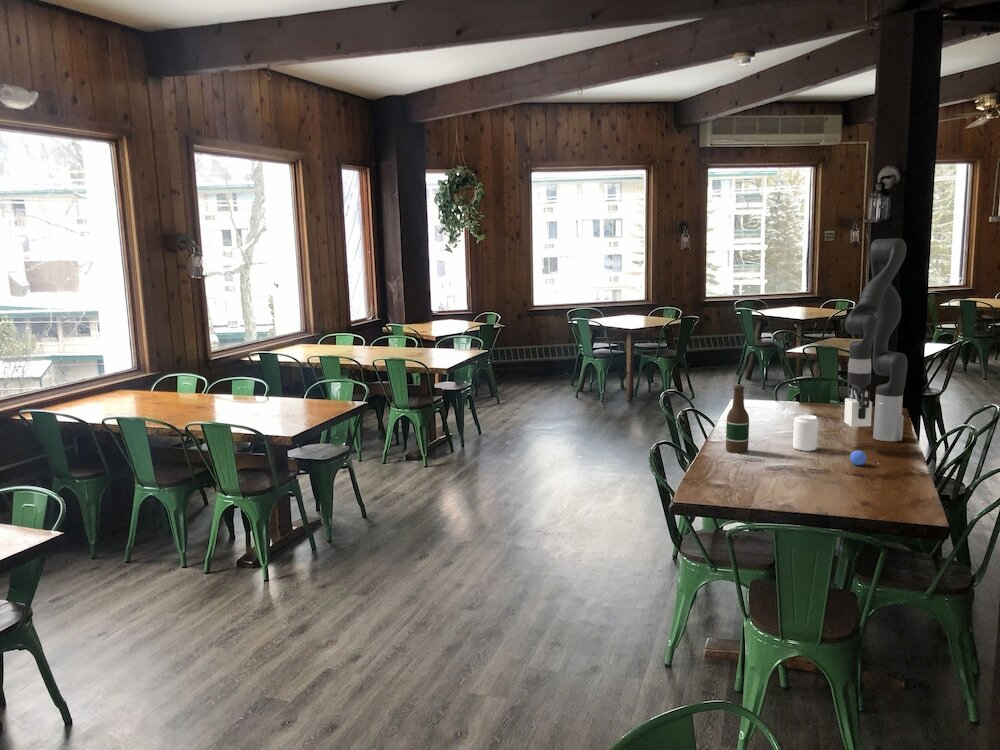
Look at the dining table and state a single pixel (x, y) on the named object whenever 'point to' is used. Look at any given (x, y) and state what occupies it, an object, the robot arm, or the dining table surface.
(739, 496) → the dining table surface
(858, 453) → the ball
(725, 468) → the dining table surface
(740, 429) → the beer bottle
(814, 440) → the beverage can
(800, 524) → the dining table surface
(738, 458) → the dining table surface
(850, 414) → the white matte cube
